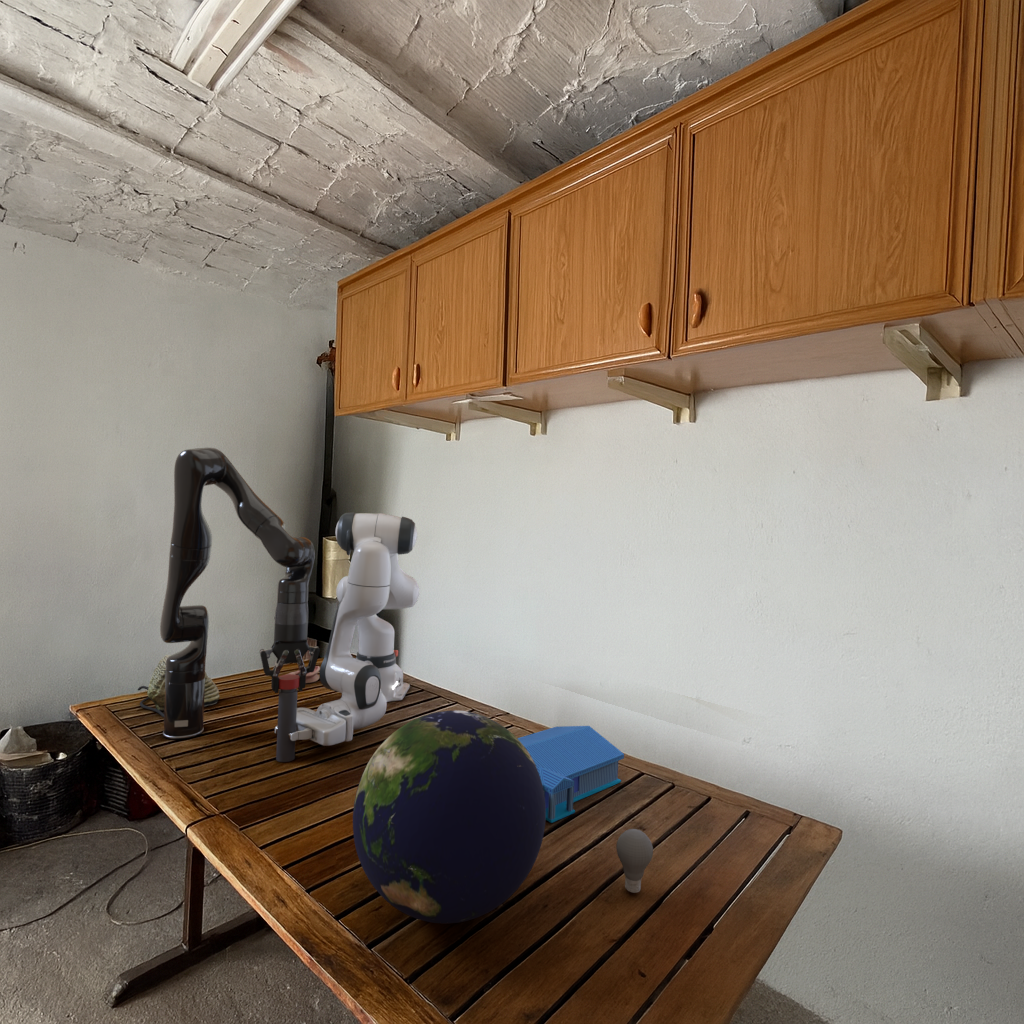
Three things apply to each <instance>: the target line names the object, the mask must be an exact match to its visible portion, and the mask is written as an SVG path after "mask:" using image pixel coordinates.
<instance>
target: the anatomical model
mask: <svg viewBox="0 0 1024 1024" xmlns="http://www.w3.org/2000/svg"><path fill="white" fill-rule="evenodd" d="M320 667H321V666H319V665H316V666H315V669H314V672H310V673H308V674H307V675H306V683H305V684H310V683H315V682H317V681H318V680H320V675H319V673H320ZM289 674H292V675H298V676H299V674H300V671H299V670H297V671H291V672H289V673H286V674H285V675H289Z"/></svg>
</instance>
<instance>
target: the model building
mask: <svg viewBox="0 0 1024 1024" xmlns="http://www.w3.org/2000/svg"><path fill="white" fill-rule="evenodd" d="M516 738H517V739H518V740H519V741H520V742H521V743H522V744H523V746H524V747H525V748H526V749H527V751H528V752H529V754H530V756H531V757H532V759H533V761H534V763H535V765H536V768H537V770H538V773H539V775H540V779H541V782H542V786H543V791H544V796H545V806H546V820H545V821H548V823H551V824H553V823H556V822H557V821H559V820H562V819H564V818H567V817H569V816H570V815H573V814H575V813H576V810H575V809H574V803H576V802H578V801H580V800H583V799H585V798H587V797H589V796H592V795H594V794H597V793H599V792H601V791H604V790H607V789H609V788H611V787H613V786H615V785H617V784H620V783H622V779H620V778H618V777H619V761H621V760H623V759H625V753H623V751H621V750H620V749H619V748H617V747H616V746H615V745H613V743H611V741H609V740H607V738H605V737H604V736H602V735H601V734H600V733H599V732H597V731H596V730H595V729H594V728H593V727H592V726H590V725H566V726H565V725H564V726H563V725H561V726H560V725H559V726H553V727H550V728H548V729H544V730H540V731H537V732H534V733H531V734H527V735H523V736H520V737H516Z"/></svg>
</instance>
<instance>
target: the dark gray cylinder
mask: <svg viewBox="0 0 1024 1024" xmlns="http://www.w3.org/2000/svg"><path fill="white" fill-rule="evenodd" d="M298 692H299V690H298V688H296V689H290V690H283V689H279V690H278V704H277V725H276V726H277V734H276V752H275V760H276V761H277V762H279V763H289V762H291V761H293V760H295V759H296V742H297V740H295V741H291V740H289V739H288V737H289V736H288V734H289V732H292V731H296V717H297V708H298Z"/></svg>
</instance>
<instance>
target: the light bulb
mask: <svg viewBox="0 0 1024 1024" xmlns="http://www.w3.org/2000/svg"><path fill="white" fill-rule="evenodd" d="M615 849H616V854H617V857H618V859H619V861H620V863H621V865H622V867H623V873H624V874H623V875H624V876H625V878H624V888H625V890H627V891H628V892H630V893H634V894H635V893H639V892H640V891H641V889H642V887H641V886H642V879H643V877H644V875H645V871H646V868H647V867H648V866H649V864H650V863H651V861H652V859H653V855H654V847H653V843H652V841H651V838H649V836H648V835H647V834H646V833H645V832H643V831H642V830H641V829H636V828H629V829H627V830H625V831H623V832H622V833H621V834H620V835H619V837H618V839H617V841H616V847H615Z"/></svg>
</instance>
